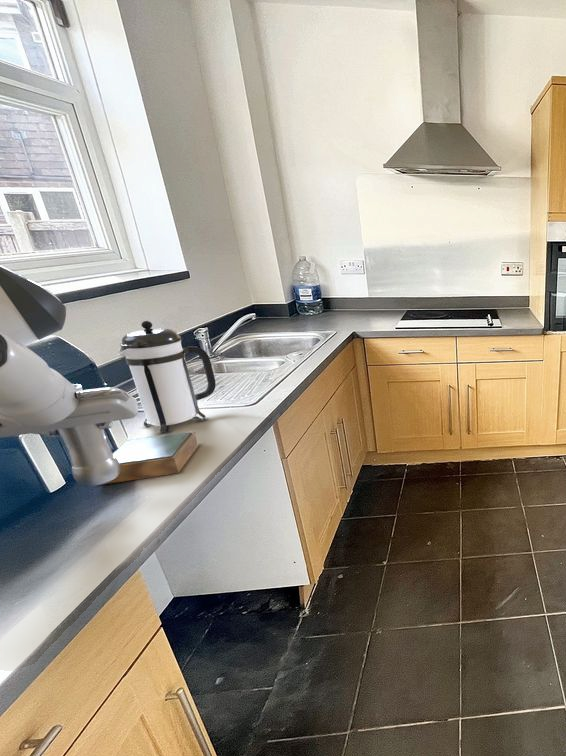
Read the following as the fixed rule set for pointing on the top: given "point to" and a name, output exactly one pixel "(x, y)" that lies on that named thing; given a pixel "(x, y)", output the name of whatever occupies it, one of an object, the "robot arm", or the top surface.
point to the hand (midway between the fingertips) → (82, 429)
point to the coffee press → (164, 375)
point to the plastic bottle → (90, 454)
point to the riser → (154, 456)
